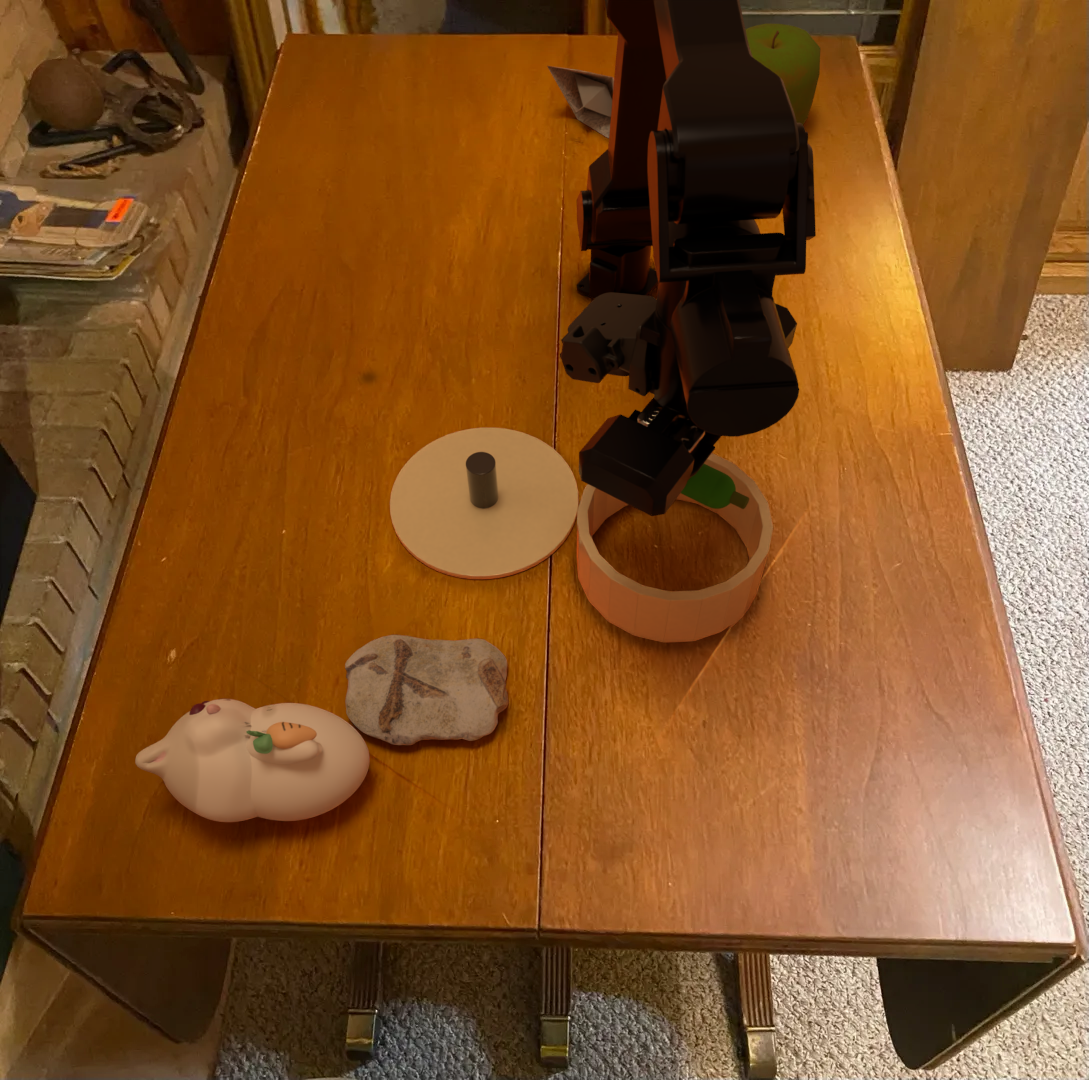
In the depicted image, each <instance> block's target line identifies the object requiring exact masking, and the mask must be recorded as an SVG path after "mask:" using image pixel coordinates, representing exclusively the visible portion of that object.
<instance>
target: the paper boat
mask: <svg viewBox="0 0 1089 1080" xmlns="http://www.w3.org/2000/svg"><path fill="white" fill-rule="evenodd" d="M546 67H547V69H548V70H549V73H550V74H551V76H552V77H553V79H554V81H555V83H556V84H557V86H558V88H559V90H560V91H561V93H562V95H563V97H564V98H565V100H566V102H567V104H568V105H569V107H570V109H571V111H572V112H573V114H574V116H575V118H576V120H577V121H579V122H581V123H583V124H584V125H586V126H587V127H589V128H591V129H592V130H594V131H595V132H597V133H599V134H600V135H602V136H603V137H605V138H607V139H609V133H610V122H611V110H612V98H613V87H614V76H610V75H605V74H600V73H595V72H592V71H586V70H581V69H575V68H568V67H561V66H554V65H547V66H546Z"/></svg>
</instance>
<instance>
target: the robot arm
mask: <svg viewBox="0 0 1089 1080" xmlns="http://www.w3.org/2000/svg"><path fill="white" fill-rule="evenodd" d="M604 4H605V5H604V6H605V13H606V18H607V20H608V21H609V22H610V24H611V25H612V26H613V28H614V30H616V32H617V41H616V42H617V43H616V51H615V65H614V75H613V78H614V87H613V98H612V110H611V122H610V133H609V138H608V146H607V149H606V150H605V151H603V153H601V154H600V156H598V157H597V158H596V159H595V160H593V162H591V164H590V165H589V166H588V168H587V169H588V172H587V181H586V190H580V191H579V193H578V195H577V198H576V225H577V231H578V240H579V246H580V252H586V251H587V250H588V251H590V260H589V261H590V262H589V272H588V273H586V275H585V276H583V278H582V279H580V280H579V282H578V283H577V284H576V291H577V293H578V292H579V293H580V294H582V295H585V296H587V297H589V298H592V299H593V300H591V301H590V303H589V304H588V305H587V306H586V307H584V309H583V310H582V311H581V312H580V313H579V314H578V315H577V316H576V317H575V319H574V320H572V322H571V323H569V326H568V327H567V333H566V334H565V335H564V336H563V337H562V339H561V340H560V341H561V344H562V346H561V347H562V348H561V352H560V353H559V358H560V360H561V363H562V367H563V368H564V371H565V374H566V375H567V376H568V377H569V378H570V379H572V380H575V381H580V382H586V383H587V382H588V383H593V384H600V383H601V382H602V381H603V380H604V379H605V378H606V376H607V375H611V376H618V377H628V386H627V387H628V388H627V389H628V390H629V391H632V392H634V393H636V394H637V395H641V396H643V397H646V396H647V395H648V393H649V394H651V395H653V397H652V398H651V399H650V400H649V402H648V403H647V404H646V406H645V407H644V408H643V409H642V410H641V411H640V410H638V409H634V410H633V411H632V412H631V414H630V415H629V416H626V415H623V414H617V415H613V416H611V417H608V418H606V420H605V421H604V422H603V423H602V425H601V426H600V427H599V428H598V429H597V430H596V432H595V433H594V434H593V435H592V436H591V437H590V439H588V441H587V442H586V443H585V445H584V446H583V447H582V448H581V449H580V450H579V452H578V473H579V478H580V480H581V482H582V483H584V484H586V485H587V484H589V485H591V486H593V487H595V488H597V489H599V490H601V491H603V492H605V493H607V494H609V495H611V496H613V497H615V498H617V499H619V500H620V501H622V502H624V503H626V504H628V506H630V507H633V508H635V509H636V510H638V511H640V512H642V513H644V514H647V515H648V516H650V517H656V516H662V515H665V514H666V513H667V512H668V510H669V509H670V507H672V505H673V504H674V502H675V501H676V500H677V499H676V498H677V497H678V495H679V494H680V493H681V491H682V490H683V489H684V487H685V486H686V484H687V481H688V480H689V479H690V478H691V477H692V476H694V475H695V474H696V473H697V472H698V471H699V470H700V468H701V467H702V466H703V464H704V463H705V462H706V460H707V459H708V458H709V456H710V455H711V454H712V453H714V451H715V450H716V446H715V445H716V443H718V441H719V440H720V439H721V438H722V437H731V438H732V437H742V436H743V437H744V436H747V435H752V434H755V433H758V432H761V431H764V430H766V429H768V428H770V427H771V426H773V425H775V424H778V423H779V422H780V421H781V420H782V419H784V418H785V417H786V416H787V415H788V414H789V413H790V411H791V410H792V409H793V408H794V406H795V404H796V402H797V400H798V398H799V393H800V388H799V380H798V377H797V372H796V369H795V366H794V363H793V360H792V359H793V358H792V356H791V354H790V353H791V352H790V350H789V349H790V347H791V346H792V345H793V342H794V338H795V334H796V330H797V325H798V322H797V321H796V319H795V318H794V316H793V315H792V313H791V311H790V310H789V308H788V307H785V306H783V305H781V304H778V303H777V302H776V303H775V299H774V296H773V289H774V284H775V279H776V276H792V275H794V276H795V275H804V274H805V273H806V268H807V241H810V240H812V239H814V238H815V237H817V234H816V203H815V201H816V200H815V174H814V173H815V171H814V169H815V168H814V152H813V151H814V150H813V147H812V146H811V145H810V144H809V132H808V131H806V128H805V126H804V124H803V125H802V123H797V121H796V118H795V114H794V111H793V108H792V105H791V102H790V99H789V96H788V94H787V91H786V88H785V85H784V82H783V80H782V79H781V78H780V77H779V76H778V75H777V74H775V73H774V72H772V71H771V70H770V69H768V68H767V67H765V66H764V65H763V64H761V63H760V62H758V61H757V60H756V59H754V58H753V56H752V53H751V50H750V47H749V43H748V39H747V34H746V29H747V28H746V25H745V22H744V21H745V20H744V16H743V10H742V7H741V2H740V0H604ZM781 213H782V219H783V220H782V221H783V232H765V233H764V232H763V233H761V231H760V227H759V225H758V223H757V221H756V220H769V219H777V218H778V217H779V215H781ZM651 256H653V263H654V268H655V269H652V268H651ZM656 287H657V290H656V292H657V293H656V298H655V297H654V296H652V295H650V294H651V292H652V291H653V290H654V289H655V288H656Z"/></svg>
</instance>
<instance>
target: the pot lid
mask: <svg viewBox="0 0 1089 1080" xmlns="http://www.w3.org/2000/svg"><path fill="white" fill-rule="evenodd" d="M389 498H390V499H389V514H390V519H391V523H392V528H393V529H394V532H395V534H396V536H397V538H398V540H399V542H400V543H401V545H402V546H403V547H404V548H405V549H406V551H407V552H408V553H409V554H410V555H412V556H413V557H414V558H415V559H416V560H417V561H418V562H420V563H422V564H423V565H425V566H426V567H428V568H430V569H432V570H435V571H436V572H439V573H442V574H443V575H447V576H450V577H456V578H460V579H468V580H490V579H500V578H505V577H510V576H513V575H516V574H519V573H522V572H525V571H527V570H529V569H531V568H533V567H535V566H537V565H539V564H540V563H542V562H543V561H545V560H546V559H548V558H549V557H551V556H552V555H553V554H554V553H555V552H556V551H558V549H559V548H560V547H561V546H562V545H563V543H564V542H565V541H566V539H567V538H568V537H569V535H570V534H571V531H572V529H573V528H574V525H575V522H576V521H577V510H578V507H579V504H580V501H579V489H578V483H577V480H576V478H575V475H574V472H573V471H572V469H571V467H570V466H569V463H568V462H566V460H565V459H564V457H563V456H562V455H561V454H560V453H559V452H558V451H557V450H556V449H555V448H553V447H552V446H551V445H550V444H548V443H546V442H544V441H543V440H541V439H540V438H537V437H536V436H533V435H531V434H528V433H526V432H522V431H519V430H515V429H511V428H504V427H494V426H493V427H487V426H486V427H485V426H484V427H483V426H481V427H474V428H467V429H462V430H457V431H453V432H451V433H448V434H445V435H443V436H441V437H439V438H437V439H435V440H433V441H431V442H429V443H428V444H426V445H424V446H423V447H421V448H420V449H419V450H418V451H416V452H415V453H414V454H413V455H412V456H411V457H410V458H409V459H408V460H407V461H406V462H405V464H404V465H403V466H402V468H401V469H400V471H399V473H398V474H397V476H396V477H395V480H394V483H393V485H392V489H391V492H390V497H389Z"/></svg>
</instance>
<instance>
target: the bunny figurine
mask: <svg viewBox="0 0 1089 1080" xmlns="http://www.w3.org/2000/svg"><path fill="white" fill-rule="evenodd" d="M370 760H371V758H370V750H369V748H368V745H367V743H366V741H365V740H364V738H363V736H362V735H361V734H360V732H359V731H358V730H357V729H356V728H355V726H352V725H351V724H350V723H349V722H348V721H346V720H345V719H344V718H342V717H340V716H339V715H337V714H335V713H333V712H331V711H329V710H327V709H323V708H320V707H318V706H314V705H310V704H306V703H298V702H297V703H296V702H279V703H274V704H269V705H264V706H260V707H257V708H255V707H253V706H251V705H250V704H247V703H245V702H243V701H241V700H238V699H233V698H217V699H213V700H204V701H202V702H200V703H199V702H198V703H196V704H193V706H191V708H190V710H189V711H188V712H186V713H185V714H184V715H182V716H181V717H180V718H178V719H177V721H176V722H174V724H173V725H172V727H170V729H169V730H168V732H167V733H166V735H165V736H164V737H163V738H162V739H160V740H158V741H157V742H155V743H153V744H150V745H148V746H146V747H145V748H143V749H142V750H140V751H139V752H138V753H137V754H136V756H135V761H134V763H135V765H136V767H137V768H139V769H140V770H142V771H145V772H148V773H151V774H154V775H156V776H158V777H159V778H160V779H161V780H163V783H164V785H165V786H166V789H167V790H168V792H169V793H170V794H171V795H172V797H173V798H174V799H176V801H177V802H178V803H180V804H181V805H182V806H183V807H185V808H186V809H188V810H189V811H190V812H192V813H194V814H196V815H198V816H200V817H202V818H205V819H207V820H209V821H214V822H221V823H239V822H242V821H243V822H244V821H248V820H251V819H254V818H261V819H266V820H270V821H280V822H294V821H302V820H303V821H304V820H308V819H311V818H314V817H318V816H320V815H323V814H325V813H327V812H329V811H332V810H334V809H335V808H337V807H338V806H340V805H342V804H343V803H344V802H346V801H347V800H348V799H349V798H350V797H351V796H352V795H353V794H354V793H355V792H356V791H358V789H360V787H361V785H362V784H363V782H364V780H365V779H366V777H367V774H368V771H369V768H370Z"/></svg>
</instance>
